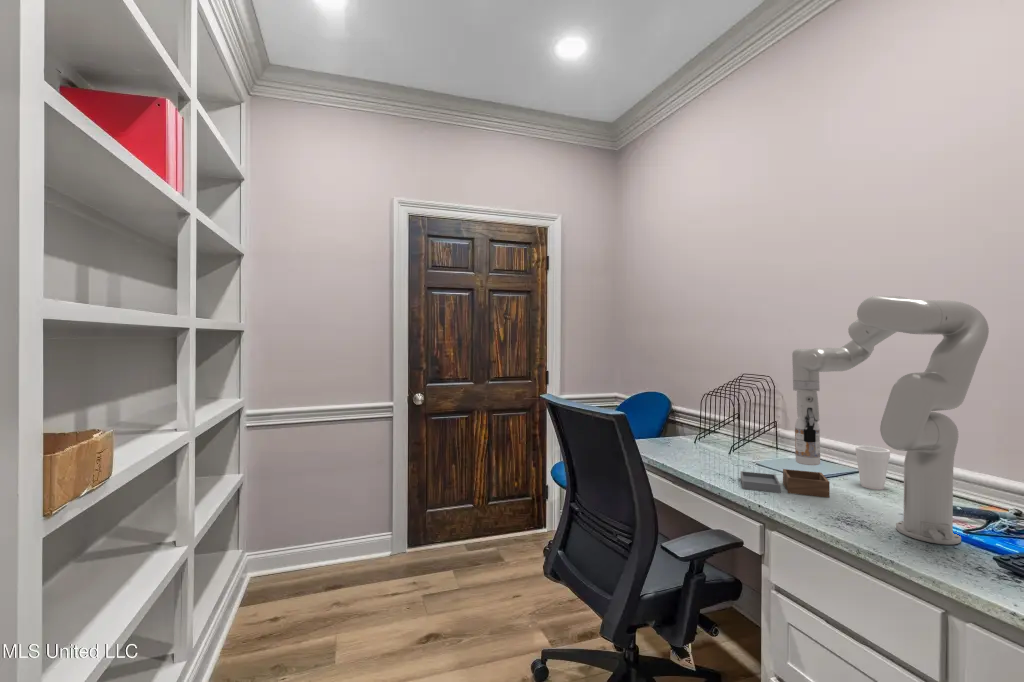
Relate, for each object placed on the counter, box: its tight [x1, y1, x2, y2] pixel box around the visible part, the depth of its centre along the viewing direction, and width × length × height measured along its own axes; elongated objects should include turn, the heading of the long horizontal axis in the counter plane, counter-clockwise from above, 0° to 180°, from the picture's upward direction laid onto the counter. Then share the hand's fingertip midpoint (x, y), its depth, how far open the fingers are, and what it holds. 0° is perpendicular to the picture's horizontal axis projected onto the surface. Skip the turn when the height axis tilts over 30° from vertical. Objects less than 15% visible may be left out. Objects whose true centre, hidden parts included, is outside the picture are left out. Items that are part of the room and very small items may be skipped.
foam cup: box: [855, 445, 891, 491], centre depth 162 cm, size 10×9×13 cm
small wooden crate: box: [782, 468, 831, 498], centre depth 158 cm, size 11×11×5 cm
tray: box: [740, 470, 782, 494], centre depth 163 cm, size 13×11×3 cm
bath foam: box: [794, 417, 821, 466], centre depth 157 cm, size 7×7×20 cm
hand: (807, 439), depth 157 cm, fingers closed on bath foam, 7 cm apart
